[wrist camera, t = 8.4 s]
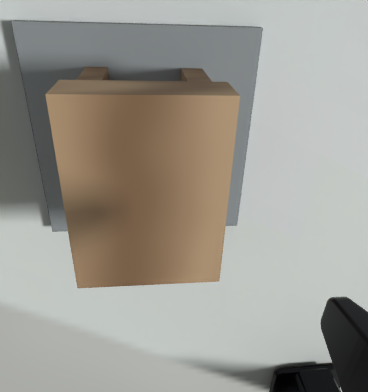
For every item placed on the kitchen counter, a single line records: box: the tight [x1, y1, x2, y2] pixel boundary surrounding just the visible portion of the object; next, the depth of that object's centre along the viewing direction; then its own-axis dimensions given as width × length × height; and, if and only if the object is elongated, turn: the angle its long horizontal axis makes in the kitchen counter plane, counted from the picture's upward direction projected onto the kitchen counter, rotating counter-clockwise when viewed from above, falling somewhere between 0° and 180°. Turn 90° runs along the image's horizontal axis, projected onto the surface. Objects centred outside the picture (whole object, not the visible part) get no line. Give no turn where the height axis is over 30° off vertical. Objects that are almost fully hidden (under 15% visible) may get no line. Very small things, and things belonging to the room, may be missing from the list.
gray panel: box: [11, 20, 263, 232], centre depth 18 cm, size 11×11×1 cm
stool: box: [45, 67, 240, 288], centre depth 15 cm, size 6×8×6 cm
